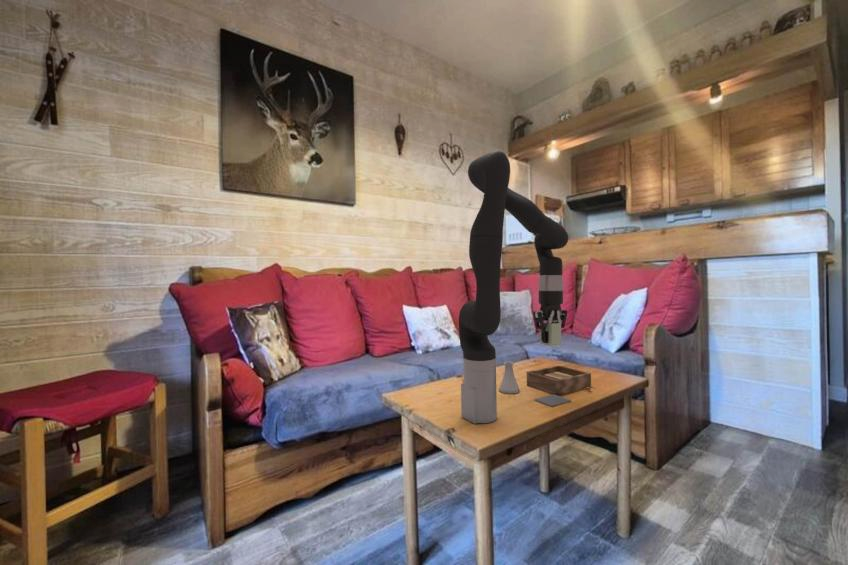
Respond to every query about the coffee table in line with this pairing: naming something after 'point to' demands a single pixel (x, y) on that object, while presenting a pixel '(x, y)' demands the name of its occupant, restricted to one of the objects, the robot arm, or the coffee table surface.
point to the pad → (552, 400)
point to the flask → (509, 380)
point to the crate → (558, 380)
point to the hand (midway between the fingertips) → (550, 341)
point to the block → (553, 334)
